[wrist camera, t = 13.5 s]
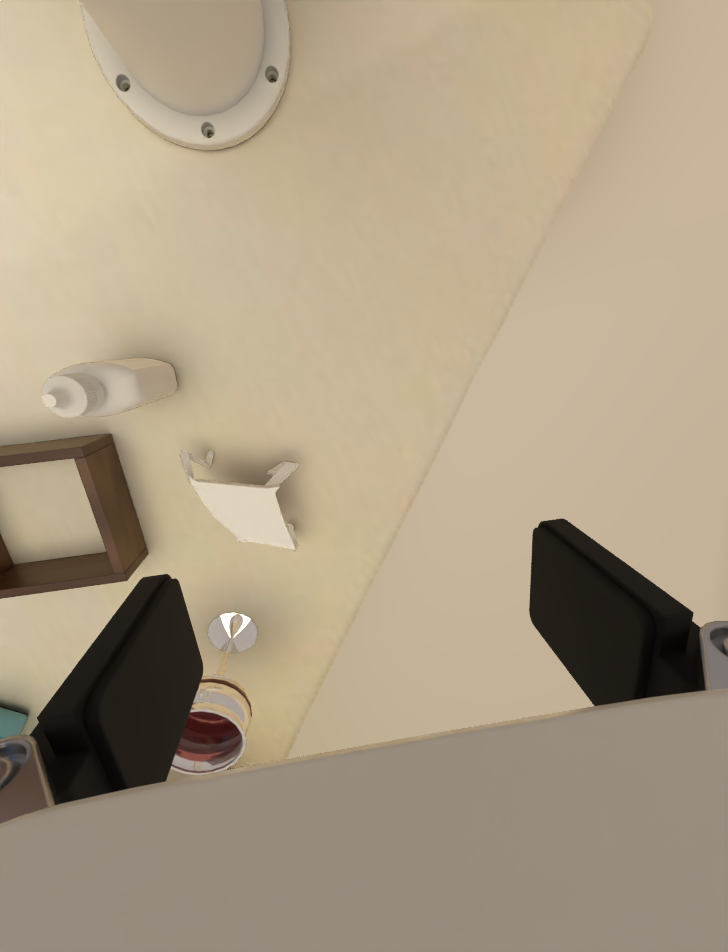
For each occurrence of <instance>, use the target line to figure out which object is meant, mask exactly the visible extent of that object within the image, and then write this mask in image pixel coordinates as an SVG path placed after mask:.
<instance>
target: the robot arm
mask: <svg viewBox="0 0 728 952" xmlns="http://www.w3.org/2000/svg"><path fill="white" fill-rule="evenodd" d="M79 1H80V2H81V8H82V14H83V19H84V25H85V30H86V33H87V36H88V40H89V43H90V46H91V49H92V52H93V55H94V57H95V59H96V61H97V63H98V65H99V67H100V69H101V71H102V73H103V75H104V77H105V78H106V80H107V81H108V83H109V84H110V86H111V87H112V89H113V90H114V92H115V93H116V95H117V96H118V97H119V99H120V100H121V101H122V102H123V103H124V105H125V106H126V107H127V108H128V109H129V110H130V112H131V113H132V114H133V115H134V116H136V117H137V118H138V119H139V120H140V121H141V122H142V123H143V124H144V125H145V126H146V127H147V128H149V129H150V130H152V131H154V132H155V133H157V134H158V135H160V136H161V137H163V138H164V139H166V140H169V141H171V142H173V143H176V144H178V145H180V146H183V147H188V148H193V149H197V150H220V149H224V148H228V147H232V146H235V145H237V144H239V143H241V142H243V141H245V140H247V139H249V138H250V137H251V136H253V135H254V134H255V133H256V132H257V131H258V130H260V129H261V128H262V127H263V126H264V125H265V123H266V122H267V121H268V119H269V118H270V117H271V115H272V114H273V113H274V111H275V109H276V107H277V105H278V103H279V101H280V99H281V96H282V94H283V91H284V87H285V84H286V80H287V77H288V71H289V62H290V52H291V51H290V31H289V22H288V15H287V7H286V3H285V0H79ZM272 78H274V79H276V82H273V83H272V82H269V81H270V79H272ZM127 87H130V88H129V90H128V91H126V88H127ZM210 132H211V133H214V135H213V137H211V138H208V134H209V133H210ZM530 587H531V588H530V608H529V611H530V617H531V620H532V623H533V625H534V626H535V628H536V629H537V630H538V631H539V633H540V634H541V636H542V637H543V638H544V639H545V641H546V642H547V643H548V645H549V646H550V647H551V649H552V650H553V651H554V653H555V654H556V655H557V657H558V658H559V659H560V661H561V662H562V663H563V664H564V666H565V667H566V669H567V670H568V671H569V673H570V674H571V675H572V677H573V678H574V679H575V681H576V682H577V683H578V685H579V686H580V687H581V689H582V690H583V691H584V693H585V694H586V695H587V697H588V698H589V699H590V700H591V702H592V703H593V704H594V706H593V707H588V708H582V709H576V710H569V711H563V712H558V713H552V714H546V715H540V716H534V717H528V718H522V719H516V720H510V721H504V722H498V723H492V724H486V725H480V726H474V727H469V728H463V729H457V730H451V731H445V732H439V733H434V734H428V735H422V736H416V737H411V738H405V739H399V740H394V741H388V742H382V743H377V744H371V745H365V746H359V747H354V748H348V749H342V750H336V751H331V752H325V753H319V754H314V755H308V756H303V757H297V758H292V759H286V760H280V761H275V762H269V763H264V764H258V765H253V766H247V767H242V768H236V769H231V770H225V771H219V772H214V773H208V774H203V775H197V776H192V777H187V778H182V779H176V780H171V781H166V780H167V777H168V774H169V771H170V768H171V765H172V762H173V760H174V757H175V754H176V751H177V748H178V745H179V742H180V739H181V737H182V734H183V731H184V728H185V725H186V722H187V719H188V717H189V714H190V711H191V708H192V705H193V702H194V699H195V696H196V694H197V691H198V688H199V685H200V682H201V679H202V676H203V663H202V659H201V655H200V652H199V648H198V645H197V642H196V638H195V635H194V631H193V628H192V624H191V621H190V618H189V614H188V611H187V607H186V604H185V601H184V597H183V594H182V590H181V587H180V584H179V581H178V580H177V579H172V578H171V577H170V576H169V575H168V574H164V575H157V576H150V577H144V578H142V579H141V580H140V581H139V582H138V584H137V585H136V586H135V588H134V589H133V590H132V592H131V593H130V594H129V596H128V597H127V598H126V600H125V601H124V602H123V604H122V605H121V606H120V608H119V609H118V610H117V612H116V613H115V614H114V616H113V617H112V618H111V620H110V621H109V622H108V624H107V625H106V626H105V628H104V629H103V630H102V632H101V633H100V634H99V636H98V637H97V638H96V640H95V641H94V642H93V644H92V645H91V646H90V648H89V649H88V650H87V652H86V653H85V654H84V656H83V657H82V658H81V660H80V661H79V662H78V664H77V665H76V666H75V668H74V669H73V670H72V672H71V673H70V674H69V676H68V677H67V678H66V680H65V681H64V682H63V684H62V685H61V686H60V688H59V689H58V690H57V692H56V693H55V694H54V696H53V697H52V698H51V700H50V701H49V702H48V704H47V705H46V706H45V708H44V709H43V710H42V712H41V713H40V714H39V716H38V717H37V719H38V721H39V723H38V725H37V726H36V727H35V729H34V730H33V731H32V733H31V734H30V736H28V735H13V736H9V737H6V738H3V739H0V952H728V621H714V622H710V623H706V624H705V625H704V626H702V627H701V628H700V627H699V626H698V625H696V624H695V623H694V622H692V617H693V612H692V611H691V610H689V609H688V608H686V607H685V606H684V605H682V604H681V603H680V602H678V601H677V600H675V599H674V598H673V597H671V596H670V595H669V594H667V593H666V592H665V591H663V590H662V589H660V588H659V587H657V586H656V585H655V584H654V583H652V582H651V581H649V580H648V579H647V578H645V577H644V576H643V575H641V574H640V573H638V572H637V571H635V570H634V569H633V568H631V567H630V566H629V565H627V564H626V563H625V562H623V561H622V560H620V559H619V558H618V557H616V556H615V555H614V554H612V553H611V552H609V551H608V550H607V549H605V548H604V547H602V546H601V545H600V544H598V543H597V542H596V541H594V540H593V539H591V538H590V537H589V536H587V535H586V534H585V533H583V532H582V531H580V530H579V529H578V528H576V527H575V526H574V525H572V524H571V523H569V522H568V521H567V520H565V519H556V520H549V521H543V522H540V524H539V526H538V528H535V529H534V530H533V541H532V563H531V586H530Z"/></svg>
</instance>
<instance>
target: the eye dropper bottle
mask: <svg viewBox="0 0 728 952" xmlns="http://www.w3.org/2000/svg"><path fill="white" fill-rule="evenodd" d="M176 390H177V381H176V376H175V372H174V369H173V367H172V366H171V365H170V364H169V363H166V362H163V361H159V360H155V359H149V358H132V359H121V360H111V361H100V362H90V363H82V364H77V365H73V366H70V367H67V368H64V369H62V370H60V371H58V372H56V373H55V374H53V375H52V376H51V377H50V378H49V379H48V380H47V381H46V382H45V384H44V386H43V388H42V396H43V397H42V402H43V404H44V405H46V406H47V407H48V408H49V409H50V410H51V411H52V412H53V413H55V414H57V415H59V416H62V417H65V418H66V417H67V418H75V417H79V416H87V417H103V416H110V415H115V414H119V413H123V412H126V411H129V410H131V409H134V408H137V407H140V406H143V405H145V404H148V403H151V402H153V401H156V400H159V399H162V398H164V397H167V396H169V395H171V394H172V393H174V392H175V391H176Z"/></svg>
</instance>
